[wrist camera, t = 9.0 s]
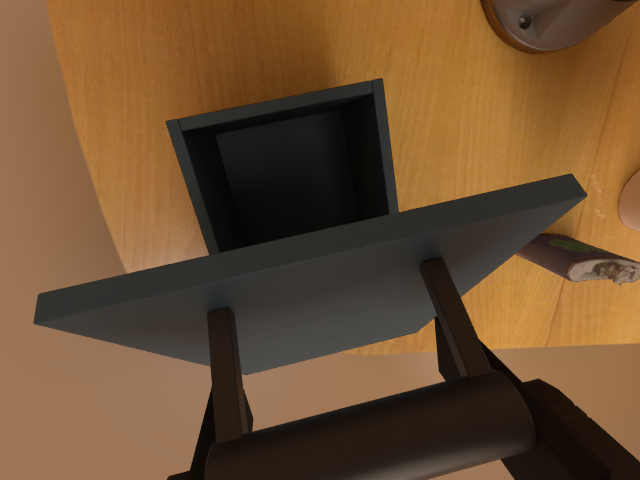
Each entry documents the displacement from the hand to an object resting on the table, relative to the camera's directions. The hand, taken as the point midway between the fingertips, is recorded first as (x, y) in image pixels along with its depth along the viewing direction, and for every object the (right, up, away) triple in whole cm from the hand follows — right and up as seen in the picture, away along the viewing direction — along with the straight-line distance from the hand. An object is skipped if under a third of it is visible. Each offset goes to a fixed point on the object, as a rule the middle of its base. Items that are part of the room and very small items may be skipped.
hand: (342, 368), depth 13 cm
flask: (+28, +5, +29) cm, 41 cm away
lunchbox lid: (-1, +1, +5) cm, 5 cm away
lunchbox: (-3, +9, +23) cm, 25 cm away
